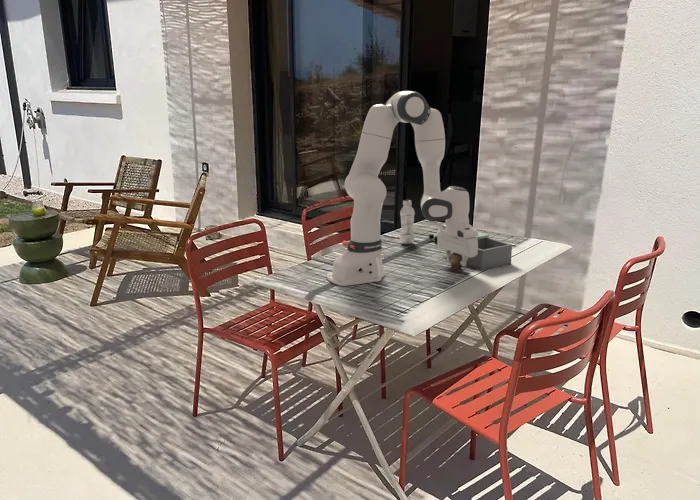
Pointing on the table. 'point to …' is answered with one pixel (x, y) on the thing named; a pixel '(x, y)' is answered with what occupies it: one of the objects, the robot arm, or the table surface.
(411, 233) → the plastic bottle
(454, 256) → the brown rounded cylinder
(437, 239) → the robot toy
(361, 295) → the table surface
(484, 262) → the housing
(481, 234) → the lid
